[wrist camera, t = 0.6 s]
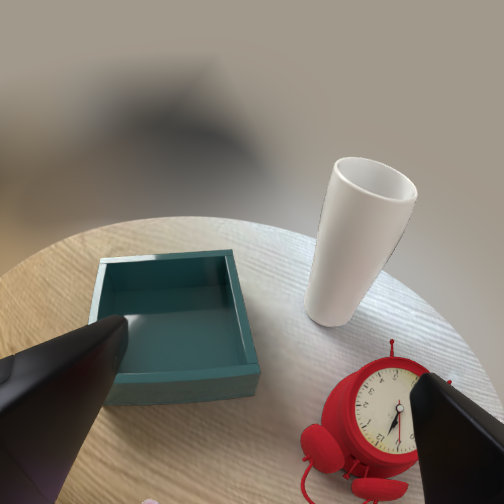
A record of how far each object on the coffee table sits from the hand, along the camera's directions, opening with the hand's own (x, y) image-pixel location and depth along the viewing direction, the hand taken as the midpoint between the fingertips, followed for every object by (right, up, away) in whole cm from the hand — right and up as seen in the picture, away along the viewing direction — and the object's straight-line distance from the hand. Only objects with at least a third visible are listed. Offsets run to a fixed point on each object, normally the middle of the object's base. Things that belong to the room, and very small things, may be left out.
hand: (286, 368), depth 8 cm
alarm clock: (+8, -12, +12) cm, 19 cm away
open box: (-8, -5, +18) cm, 20 cm away
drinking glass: (+7, -3, +22) cm, 23 cm away
